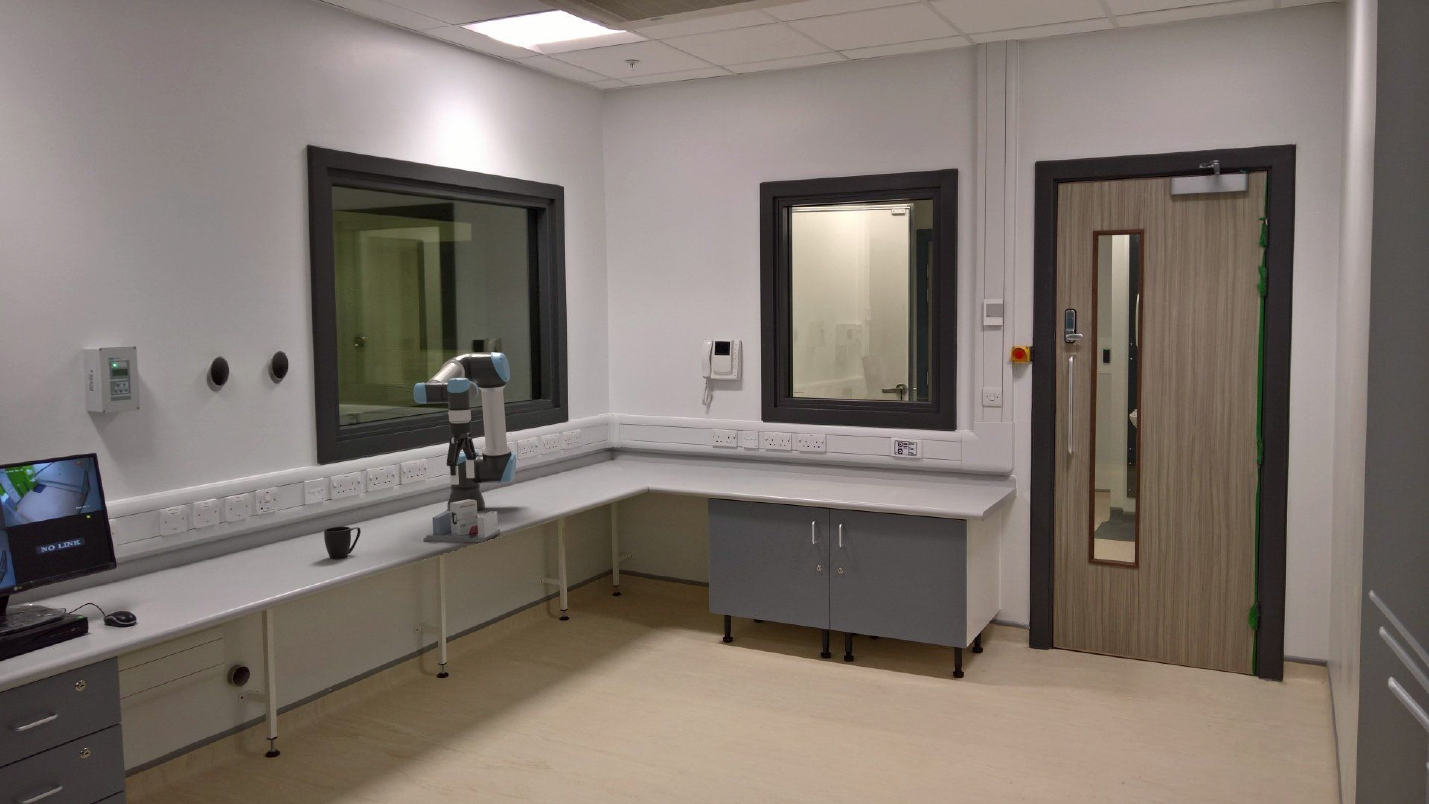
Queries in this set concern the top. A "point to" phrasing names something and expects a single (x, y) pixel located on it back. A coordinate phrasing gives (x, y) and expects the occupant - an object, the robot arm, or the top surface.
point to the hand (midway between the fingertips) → (462, 481)
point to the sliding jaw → (442, 523)
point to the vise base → (485, 532)
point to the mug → (339, 541)
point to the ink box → (464, 517)
